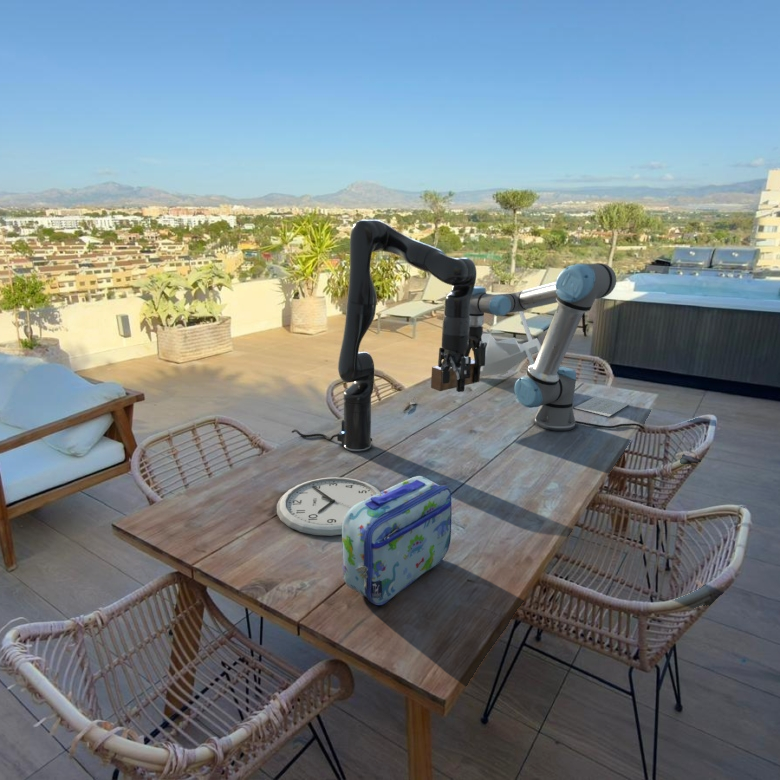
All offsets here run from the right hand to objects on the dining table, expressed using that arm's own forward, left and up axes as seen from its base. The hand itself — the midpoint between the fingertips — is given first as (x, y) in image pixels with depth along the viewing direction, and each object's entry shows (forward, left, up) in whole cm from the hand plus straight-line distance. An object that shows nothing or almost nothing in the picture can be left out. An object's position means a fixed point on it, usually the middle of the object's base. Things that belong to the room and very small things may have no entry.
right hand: (470, 379), depth 220 cm
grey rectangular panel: (-57, -10, -12) cm, 59 cm away
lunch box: (+18, +117, -12) cm, 119 cm away
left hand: (+8, +68, +17) cm, 71 cm away
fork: (+25, +4, -12) cm, 28 cm away
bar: (+6, +6, -1) cm, 9 cm away
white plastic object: (-19, -38, -12) cm, 44 cm away
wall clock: (+39, +89, -12) cm, 98 cm away
